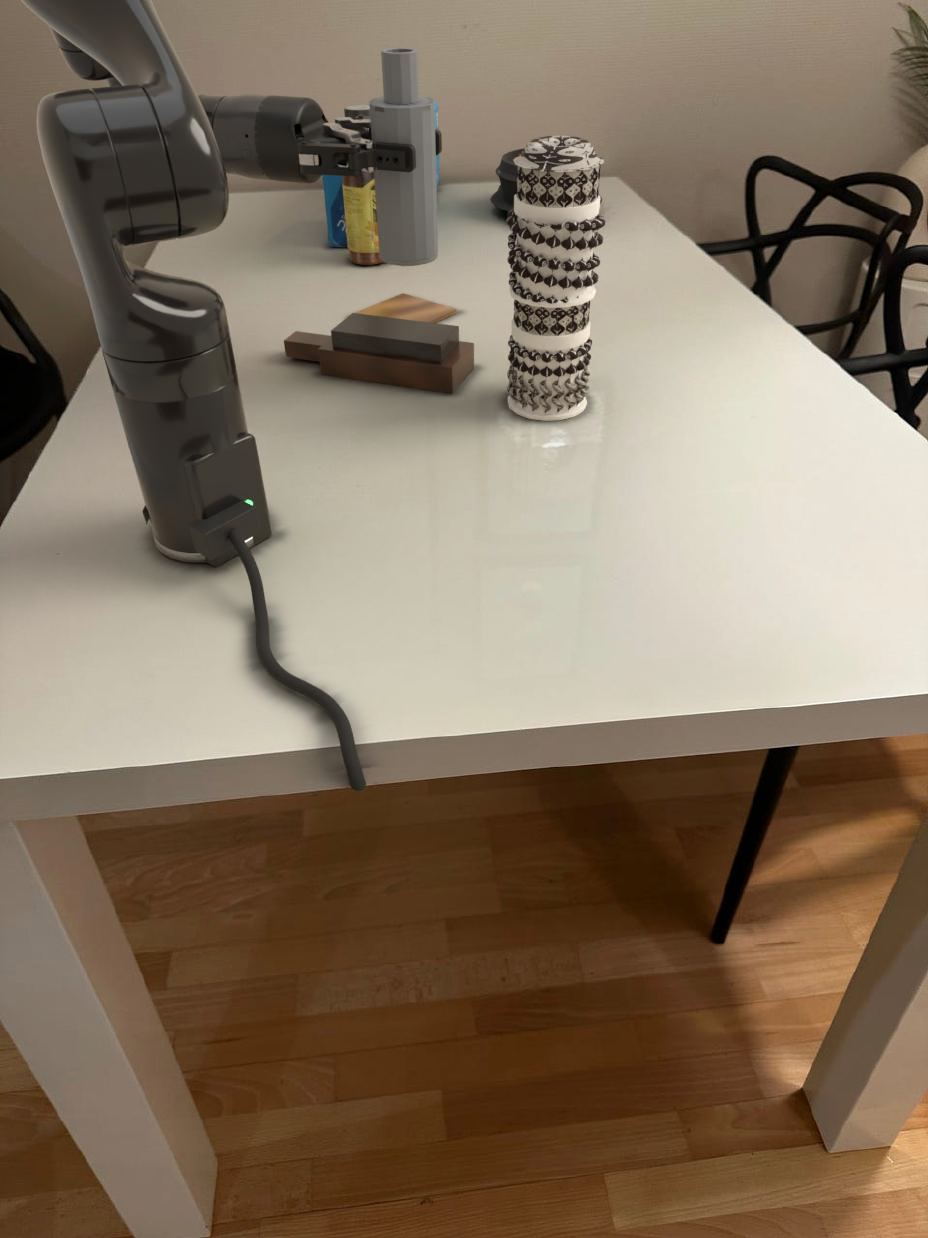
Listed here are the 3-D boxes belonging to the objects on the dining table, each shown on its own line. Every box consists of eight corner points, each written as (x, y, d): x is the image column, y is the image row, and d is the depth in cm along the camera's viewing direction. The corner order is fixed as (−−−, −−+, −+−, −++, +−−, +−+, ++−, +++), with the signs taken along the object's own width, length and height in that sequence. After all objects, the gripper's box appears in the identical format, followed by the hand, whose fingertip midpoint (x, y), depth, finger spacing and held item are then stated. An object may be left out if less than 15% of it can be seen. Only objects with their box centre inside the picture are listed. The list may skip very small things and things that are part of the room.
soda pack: (369, 180, 167) (363, 102, 159) (442, 181, 166) (440, 102, 158) (326, 248, 136) (316, 155, 128) (415, 249, 135) (411, 155, 127)
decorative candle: (519, 428, 91) (527, 157, 75) (493, 389, 98) (494, 134, 82) (603, 415, 92) (628, 148, 77) (571, 379, 99) (588, 127, 83)
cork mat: (456, 312, 115) (456, 308, 115) (406, 335, 110) (406, 331, 109) (402, 296, 120) (402, 292, 120) (352, 317, 114) (352, 313, 114)
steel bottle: (449, 254, 92) (446, 49, 81) (410, 270, 89) (401, 57, 77) (406, 243, 95) (397, 43, 84) (367, 257, 92) (352, 51, 80)
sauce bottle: (384, 268, 129) (374, 112, 116) (343, 265, 130) (328, 111, 117) (396, 253, 134) (387, 102, 121) (356, 251, 135) (343, 101, 122)
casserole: (476, 195, 158) (476, 142, 153) (577, 188, 161) (580, 136, 156) (508, 237, 139) (509, 178, 134) (622, 228, 142) (628, 170, 137)
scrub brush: (474, 368, 102) (473, 325, 99) (452, 393, 97) (451, 349, 94) (306, 344, 108) (301, 303, 105) (278, 367, 103) (271, 325, 100)
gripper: (226, 109, 82) (396, 121, 77) (300, 82, 92) (453, 91, 88) (240, 197, 86) (400, 213, 82) (309, 162, 97) (454, 174, 92)
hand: (427, 150), depth 85 cm, fingers closed on steel bottle, 6 cm apart
